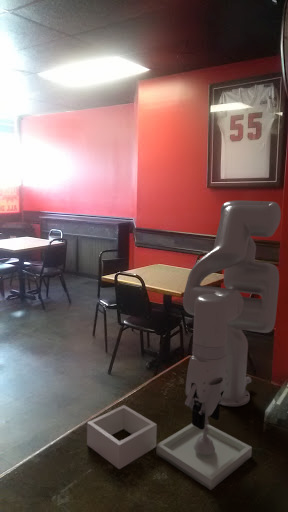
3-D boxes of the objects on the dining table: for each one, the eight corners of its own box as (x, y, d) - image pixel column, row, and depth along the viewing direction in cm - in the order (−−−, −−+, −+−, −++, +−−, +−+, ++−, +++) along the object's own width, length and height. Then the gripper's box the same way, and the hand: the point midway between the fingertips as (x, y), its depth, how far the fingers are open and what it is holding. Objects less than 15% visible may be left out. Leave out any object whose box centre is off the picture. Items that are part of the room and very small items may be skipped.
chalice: (218, 460, 93) (222, 386, 90) (188, 455, 94) (191, 383, 91) (219, 440, 100) (223, 372, 97) (191, 436, 101) (194, 368, 98)
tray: (198, 427, 109) (198, 419, 108) (251, 456, 97) (251, 447, 97) (156, 454, 97) (156, 444, 97) (210, 490, 86) (211, 479, 86)
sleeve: (123, 425, 109) (124, 404, 108) (156, 446, 100) (156, 424, 99) (87, 444, 100) (87, 422, 99) (119, 469, 92) (119, 445, 91)
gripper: (217, 335, 101) (214, 403, 105) (171, 354, 90) (169, 429, 93) (243, 344, 96) (239, 415, 99) (199, 365, 84) (195, 444, 88)
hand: (205, 421), depth 96 cm, fingers closed on chalice, 4 cm apart
